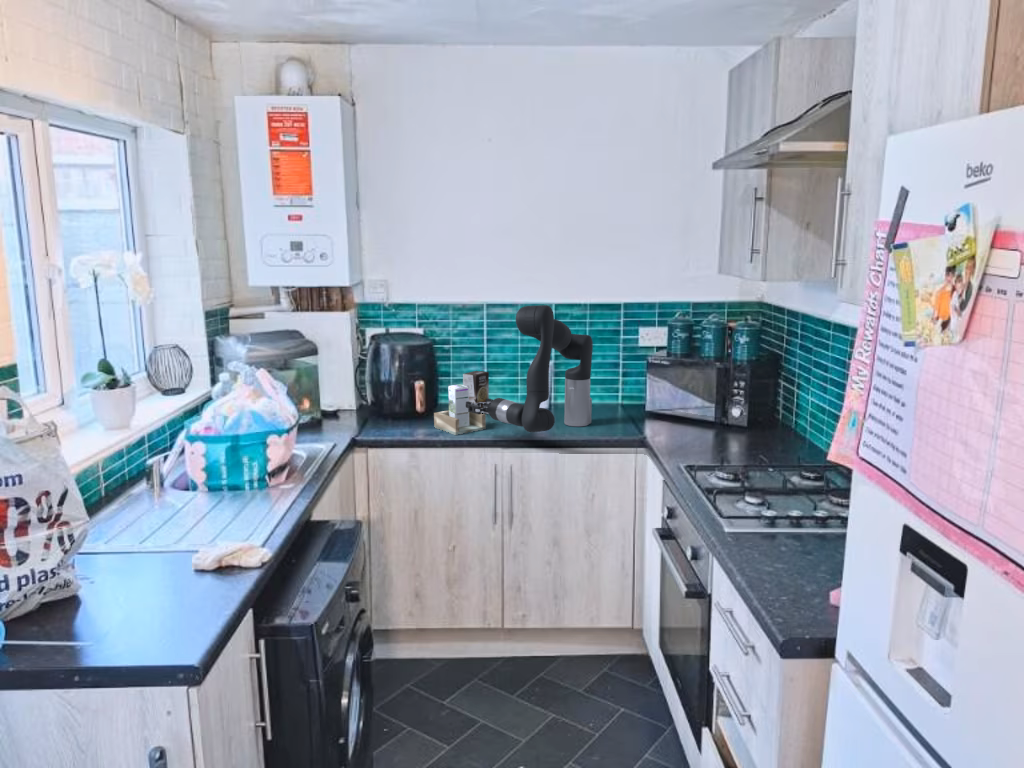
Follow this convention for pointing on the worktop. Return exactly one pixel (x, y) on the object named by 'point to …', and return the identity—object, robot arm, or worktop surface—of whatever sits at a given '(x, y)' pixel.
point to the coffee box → (477, 386)
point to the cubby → (452, 424)
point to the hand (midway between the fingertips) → (476, 402)
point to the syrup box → (459, 403)
